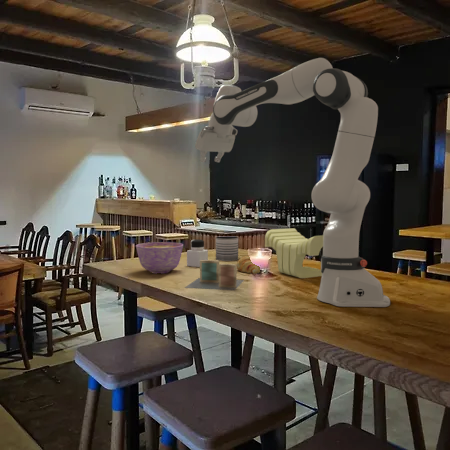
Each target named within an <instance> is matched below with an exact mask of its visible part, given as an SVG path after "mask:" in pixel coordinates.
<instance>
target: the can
mask: <svg viewBox="0 0 450 450" xmlns="http://www.w3.org/2000/svg"><path fill="white" fill-rule="evenodd" d="M215 260H217V261H223V262H232V261H237V260H239V236H235V235H234V236H233V235H231V236H228V235H227V236H222V235H221V236H220V235H219V236H215Z"/></svg>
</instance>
